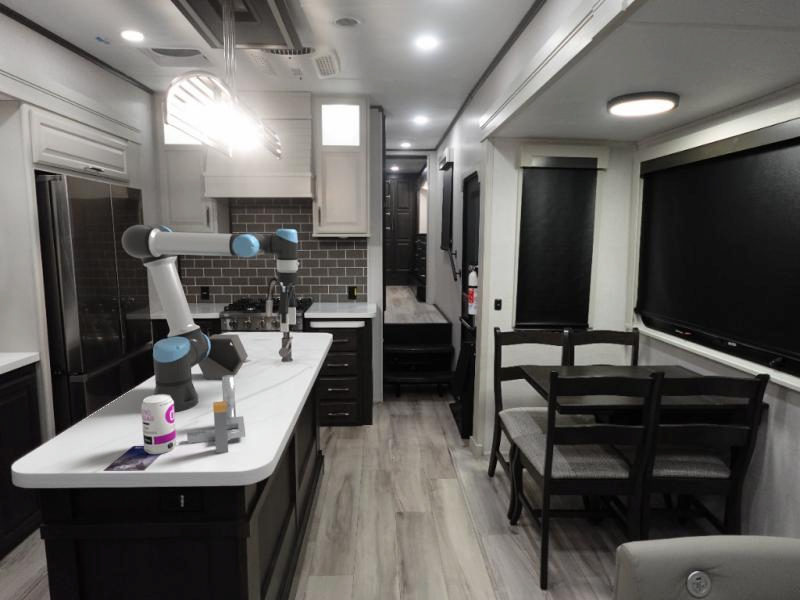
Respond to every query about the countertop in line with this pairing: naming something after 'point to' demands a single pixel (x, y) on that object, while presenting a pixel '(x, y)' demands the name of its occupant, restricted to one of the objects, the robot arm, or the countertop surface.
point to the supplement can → (158, 424)
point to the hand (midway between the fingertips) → (288, 327)
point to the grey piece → (230, 413)
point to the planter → (223, 356)
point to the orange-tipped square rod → (220, 427)
